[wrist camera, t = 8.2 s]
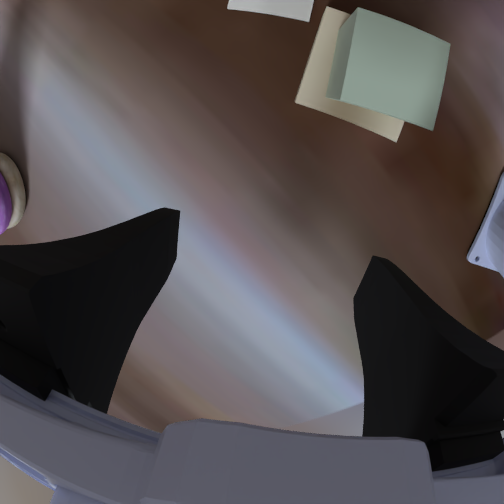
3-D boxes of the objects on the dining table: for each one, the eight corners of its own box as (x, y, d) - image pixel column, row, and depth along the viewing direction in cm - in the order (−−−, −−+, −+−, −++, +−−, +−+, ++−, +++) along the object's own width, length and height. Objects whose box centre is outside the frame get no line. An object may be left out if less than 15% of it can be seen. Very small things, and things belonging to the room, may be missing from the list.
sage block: (408, 53, 12) (450, 44, 8) (394, 117, 14) (432, 130, 10) (338, 30, 12) (357, 7, 8) (325, 97, 14) (340, 99, 10)
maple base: (409, 55, 14) (427, 51, 12) (382, 134, 17) (396, 142, 15) (321, 17, 14) (326, 6, 12) (294, 100, 17) (294, 102, 15)
